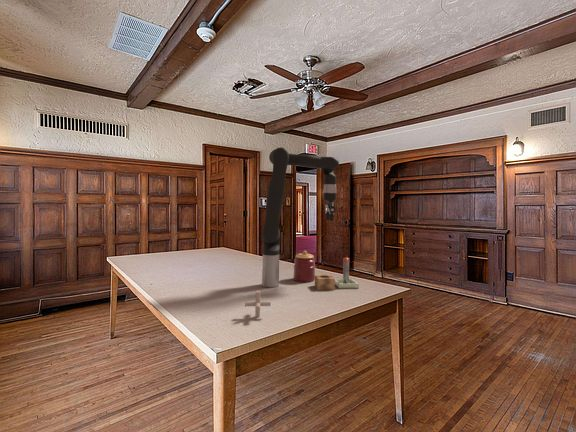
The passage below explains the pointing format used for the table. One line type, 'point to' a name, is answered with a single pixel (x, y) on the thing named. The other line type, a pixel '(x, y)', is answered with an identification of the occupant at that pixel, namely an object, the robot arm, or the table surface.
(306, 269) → the canister
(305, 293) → the table surface
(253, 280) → the table surface
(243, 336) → the table surface
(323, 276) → the block
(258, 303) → the pipe connector
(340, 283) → the tray
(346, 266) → the steel pin
